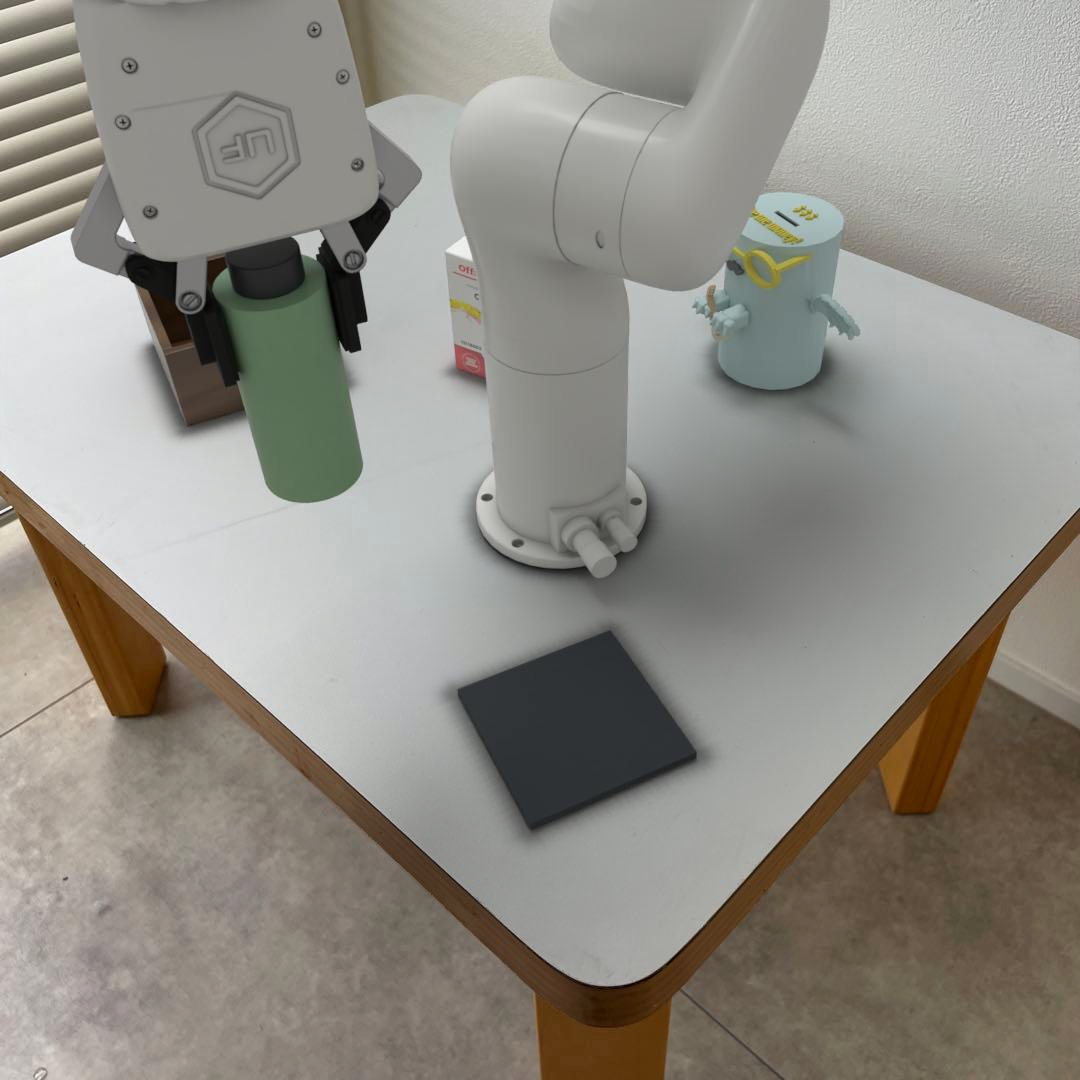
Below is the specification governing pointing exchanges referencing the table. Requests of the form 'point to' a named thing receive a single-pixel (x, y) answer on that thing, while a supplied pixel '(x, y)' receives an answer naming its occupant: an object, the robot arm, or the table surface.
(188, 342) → the open box
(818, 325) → the character sculpture
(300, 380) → the bottle
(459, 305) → the ink cartridge box
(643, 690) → the mat
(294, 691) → the table surface
